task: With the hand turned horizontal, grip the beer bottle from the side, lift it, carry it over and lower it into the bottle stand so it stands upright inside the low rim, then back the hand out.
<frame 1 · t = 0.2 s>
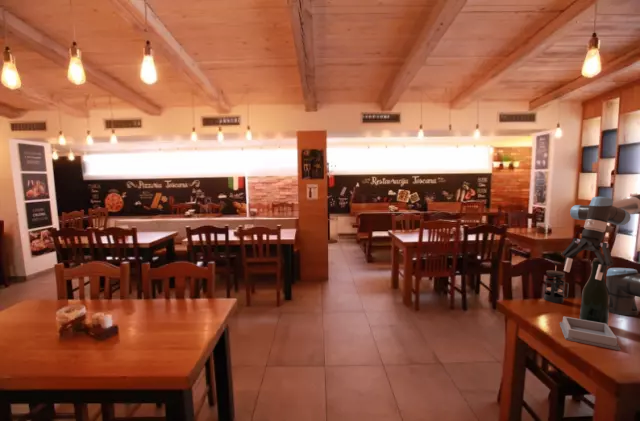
hand: (581, 275, 144), 27 cm above the table, tool tilted 15°, fingers open, 13 cm apart
french press: (554, 300, 185), on the table
beer bottle: (593, 325, 154), on the table
bottle stand: (587, 336, 142), on the table
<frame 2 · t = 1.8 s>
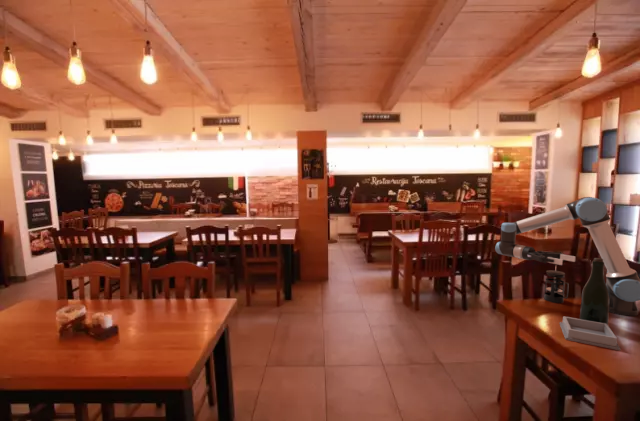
hand: (568, 260, 160), 29 cm above the table, tool horizontal, fingers open, 13 cm apart
nothing on the table moved.
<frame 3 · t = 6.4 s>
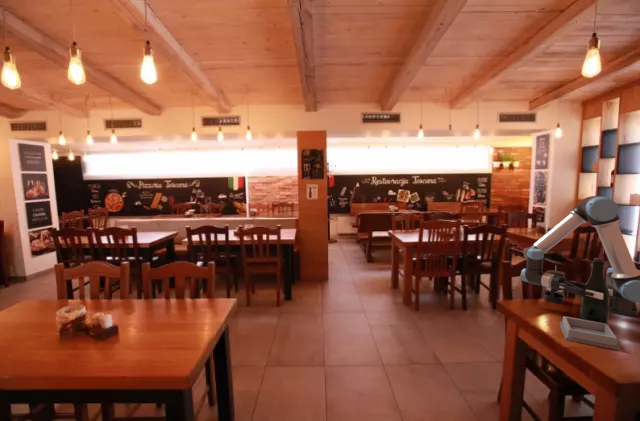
hand: (607, 294, 148), 17 cm above the table, tool horizontal, fingers closed on beer bottle, 9 cm apart
beer bottle: (593, 325, 154), on the table, touching gripper
everything else where it was.
when the fingers open (19 cm above the table, at t = 13.6 s): beer bottle drops 1 cm, resting on bottle stand.
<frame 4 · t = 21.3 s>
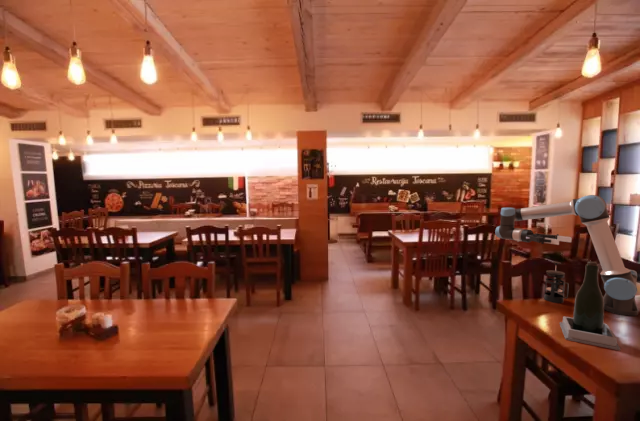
hand: (565, 241, 168), 38 cm above the table, tool horizontal, fingers open, 13 cm apart
beer bottle: (586, 334, 142), point 1 cm above the table, touching bottle stand
everything else where it was.
at the end: beer bottle 0.3 cm off-centre on the bottle stand, point 0.8 cm above the bottle stand's base; beer bottle tilted 0°; the gripper is holding nothing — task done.
